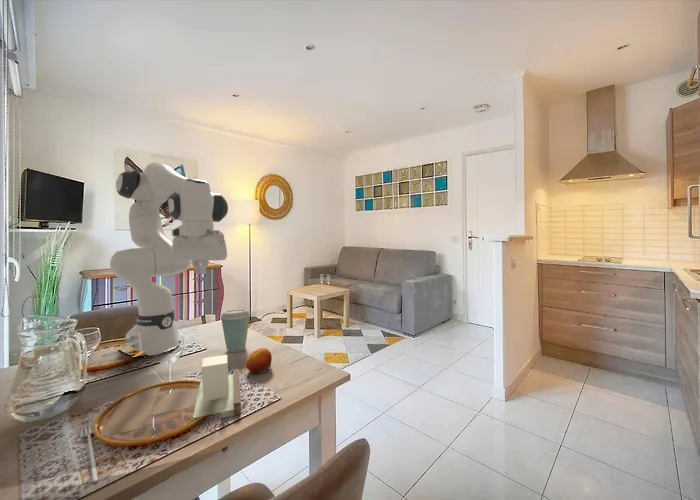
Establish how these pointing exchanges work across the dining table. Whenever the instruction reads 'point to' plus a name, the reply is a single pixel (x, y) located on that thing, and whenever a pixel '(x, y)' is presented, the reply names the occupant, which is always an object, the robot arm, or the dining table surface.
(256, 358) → the fruit
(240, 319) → the disposable coffee cup
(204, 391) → the cream block
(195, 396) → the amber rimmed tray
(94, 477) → the dining table surface
